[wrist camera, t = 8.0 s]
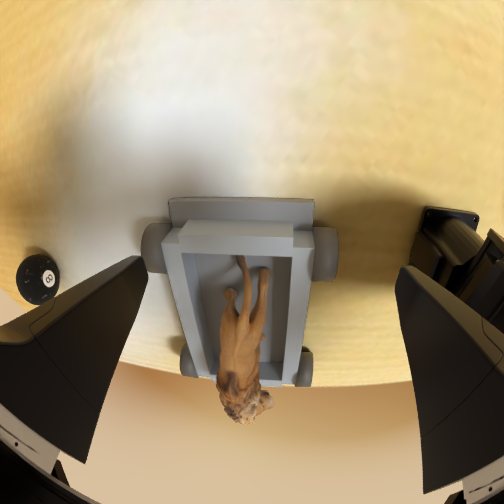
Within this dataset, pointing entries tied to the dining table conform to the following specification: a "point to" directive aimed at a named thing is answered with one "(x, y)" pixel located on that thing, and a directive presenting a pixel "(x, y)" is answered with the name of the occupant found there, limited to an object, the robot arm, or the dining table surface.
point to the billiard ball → (37, 279)
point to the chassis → (230, 275)
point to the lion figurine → (243, 350)
